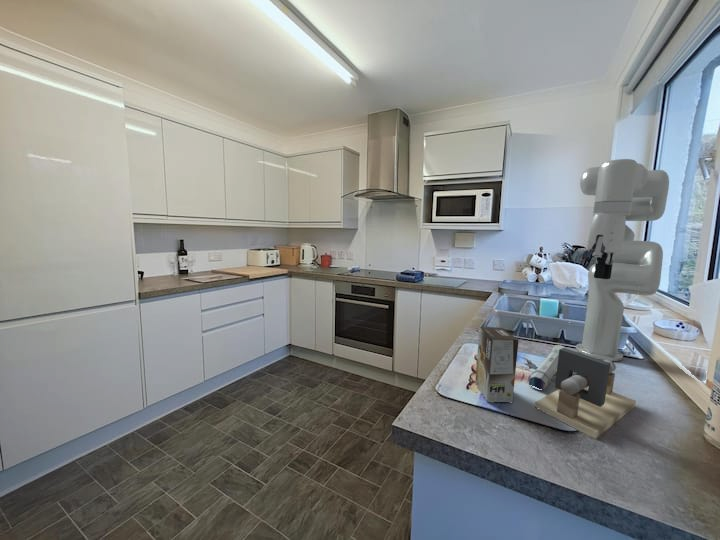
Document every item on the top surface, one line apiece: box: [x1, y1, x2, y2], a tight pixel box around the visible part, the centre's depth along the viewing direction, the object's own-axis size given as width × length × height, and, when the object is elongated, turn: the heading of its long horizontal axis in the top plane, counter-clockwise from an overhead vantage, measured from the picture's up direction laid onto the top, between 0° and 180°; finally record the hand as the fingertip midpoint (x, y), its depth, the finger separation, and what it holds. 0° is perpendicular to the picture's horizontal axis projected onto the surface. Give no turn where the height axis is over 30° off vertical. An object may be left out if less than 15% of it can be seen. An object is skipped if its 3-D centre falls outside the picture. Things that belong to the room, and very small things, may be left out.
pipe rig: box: [534, 360, 637, 440], centre depth 70 cm, size 22×12×10 cm, turn 122°
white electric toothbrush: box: [528, 344, 566, 391], centre depth 86 cm, size 5×7×25 cm
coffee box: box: [474, 326, 519, 403], centre depth 74 cm, size 9×6×16 cm
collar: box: [554, 347, 610, 407], centre depth 66 cm, size 2×9×10 cm, turn 32°
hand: (601, 278), depth 80 cm, fingers closed
